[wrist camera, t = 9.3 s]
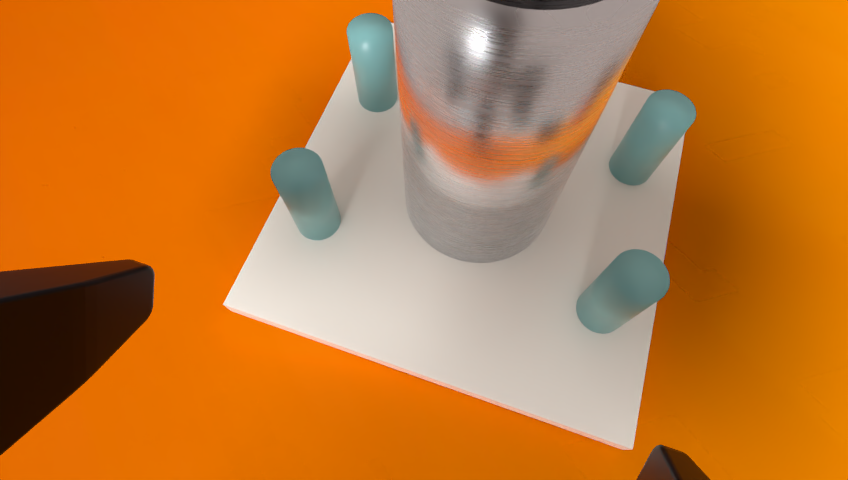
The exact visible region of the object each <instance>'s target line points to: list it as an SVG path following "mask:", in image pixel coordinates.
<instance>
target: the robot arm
mask: <svg viewBox="0 0 848 480" xmlns="http://www.w3.org/2000/svg"><path fill="white" fill-rule="evenodd" d="M153 298H154V271H153V269H152V268H151V267H150V266H149V265H146V264H143V263H140V262H137V261H134V260H118V261H107V262H97V263H86V264H76V265H65V266H55V267H44V268H34V269H23V270H13V271H2V272H0V455H1V454H3V453H4V452H5V451H6V450H7V449H8V448H10V447H11V446H12V445H13V444H14V443H15V442H17V441H18V440H19V439H20V438H21V437H22V436H24V435H25V434H26V433H27V432H28V431H30V430H31V429H32V428H33V427H34V426H35V425H37V424H38V423H39V422H40V421H41V420H42V419H44V418H45V417H46V416H47V415H48V414H49V413H51V412H52V411H53V410H54V409H55V408H56V407H58V406H59V405H60V404H61V403H62V402H63V401H65V400H66V399H67V398H68V397H69V396H70V395H72V394H73V393H74V392H75V391H76V390H77V389H78V388H80V387H81V386H82V385H83V384H84V383H85V382H86V381H87V380H88V379H89V378H90V377H91V376H92V375H93V374H94V373H95V372H96V371H97V370H98V369H99V368H100V367H101V366H102V365H103V364H104V363H105V362H106V361H107V360H108V359H109V358H110V357H111V356H112V355H113V354H114V353H115V352H116V351H117V350H118V349H119V348H120V347H121V346H122V345H123V344H124V343H125V342H126V341H127V340H128V338H129V337H130V336H131V335H132V334H133V333H134V332H135V331H136V330H137V329H138V328H139V327H140V326H141V325H142V324H143V323H144V322H145V321H146V320H147V319H148V317H149V316H150V314H151V312H152V308H153ZM637 480H710V479H709V478H708V477H707V476H706V474H705V473H704V472H703V471H702V470H701V469H700V468H699V467H698V466H697V465H696V464H695V463H694V462H693V461H692V460H691V459H690V457H689V456H688V455H687V454H685V453H683V452H681V451H678V450H675V449H672V448H669V447H667V446H664V445H658V446H656V447H655V448H654V449H653V450H652V452H651V454H650V456H649V457H648V459H647V461H646V463H645V465H644V467H643V469H642V470H641V472H640V474H639V476H638V478H637Z"/></svg>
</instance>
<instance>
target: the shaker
mask: <svg viewBox="0 0 848 480" xmlns="http://www.w3.org/2000/svg"><path fill="white" fill-rule="evenodd" d="M658 2H659V0H393V15H394V30H395V46H396V61H397V77H398V92H399V108H400V123H401V139H402V154H403V170H404V185H405V200H406V207H407V212H408V215H409V218H410V220H411V222H412V224H413V226H414V228H415V229H416V231H417V232H418V234H419V235H420V236H421V237H422V238H423V239H424V240H425V241H426V242H427V243H428V244H429V245H430V246H431V247H433V248H434V249H436V250H437V251H439V252H440V253H442V254H444V255H447V256H449V257H451V258H454V259H457V260H461V261H465V262H472V263H490V262H496V261H500V260H504V259H507V258H510V257H512V256H514V255H516V254H518V253H520V252H521V251H523V250H525V249H526V248H527V247H528V246H529V245H531V244H532V243H533V242H534V241H535V239H536V238H537V237H538V236H539V234H540V233H541V231H542V230H543V228H544V226H545V224H546V222H547V220H548V218H549V216H550V214H551V212H552V210H553V208H554V206H555V204H556V202H557V200H558V198H559V196H560V195H561V193H562V191H563V189H564V187H565V185H566V183H567V181H568V179H569V177H570V175H571V173H572V171H573V169H574V167H575V165H576V163H577V161H578V159H579V157H580V155H581V153H582V151H583V149H584V147H585V146H586V144H587V142H588V140H589V138H590V136H591V134H592V132H593V130H594V128H595V126H596V124H597V122H598V120H599V118H600V116H601V114H602V112H603V110H604V108H605V106H606V104H607V102H608V100H609V98H610V96H611V95H612V93H613V91H614V89H615V87H616V85H617V83H618V81H619V79H620V77H621V75H622V73H623V71H624V69H625V67H626V65H627V63H628V61H629V59H630V57H631V55H632V53H633V51H634V49H635V47H636V46H637V44H638V42H639V40H640V38H641V36H642V34H643V32H644V30H645V28H646V26H647V24H648V22H649V20H650V18H651V16H652V14H653V12H654V10H655V8H656V6H657V4H658Z"/></svg>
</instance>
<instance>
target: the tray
mask: <svg viewBox="0 0 848 480" xmlns="http://www.w3.org/2000/svg"><path fill="white" fill-rule="evenodd" d="M347 36H348V42H349V47H350V53H351V61H350V62H349V64H348V66H347V68H346V70H345V72H344V74H343V76H342V78H341V80H340V82H339V84H338V85H337V87H336V89H335V91H334V93H333V95H332V97H331V99H330V101H329V103H328V105H327V106H326V108H325V110H324V112H323V114H322V116H321V118H320V120H319V122H318V124H317V126H316V128H315V129H314V131H313V133H312V135H311V137H310V139H309V141H308V143H307V145H306V147H305V148H293V149H289V150H287V151H285V152H283V153H282V154H280V155H279V156H278V157H277V158H276V159H275V161H274V162H273V164H272V167H271V178H272V181H273V183H274V184H275V186H276V188H277V190H278V192H279V194H280V196H279V198H278V200H277V202H276V204H275V206H274V208H273V210H272V212H271V214H270V216H269V218H268V219H267V221H266V223H265V225H264V227H263V229H262V231H261V233H260V235H259V237H258V239H257V241H256V242H255V244H254V246H253V248H252V250H251V252H250V254H249V256H248V258H247V260H246V262H245V264H244V265H243V267H242V269H241V271H240V273H239V275H238V277H237V279H236V281H235V283H234V285H233V286H232V288H231V290H230V292H229V294H228V296H227V298H226V300H225V302H224V304H223V305H224V306H226V307H227V308H228V309H229V310H231V311H233V312H236V313H238V314H241V315H244V316H247V317H250V318H253V319H255V320H258V321H261V322H264V323H267V324H269V325H272V326H275V327H278V328H281V329H284V330H286V331H289V332H292V333H295V334H298V335H301V336H303V337H306V338H309V339H312V340H315V341H317V342H320V343H323V344H326V345H329V346H332V347H334V348H337V349H340V350H343V351H346V352H348V353H351V354H354V355H357V356H360V357H363V358H365V359H368V360H371V361H374V362H377V363H379V364H382V365H385V366H388V367H391V368H394V369H396V370H399V371H402V372H405V373H408V374H411V375H413V376H416V377H419V378H422V379H425V380H427V381H430V382H433V383H436V384H439V385H442V386H444V387H447V388H450V389H453V390H456V391H458V392H461V393H464V394H467V395H470V396H473V397H475V398H478V399H481V400H484V401H487V402H490V403H492V404H495V405H498V406H501V407H504V408H506V409H509V410H512V411H515V412H518V413H521V414H523V415H526V416H529V417H532V418H535V419H537V420H540V421H543V422H546V423H549V424H552V425H554V426H557V427H560V428H563V429H566V430H568V431H571V432H574V433H577V434H580V435H583V436H585V437H588V438H591V439H594V440H597V441H600V442H602V443H605V444H608V445H611V446H614V447H616V448H619V449H622V450H630V449H633V445H634V439H635V433H636V427H637V420H638V414H639V408H640V402H641V396H642V390H643V384H644V378H645V372H646V366H647V360H648V354H649V348H650V342H651V336H652V330H653V324H654V318H655V312H656V305H657V301H659V300H660V299H661V298H663V297H664V295H665V294H666V293H667V291H668V289H669V285H670V277H669V273H668V270H667V268H666V266H665V265H664V257H665V251H666V245H667V239H668V233H669V227H670V221H671V215H672V209H673V203H674V197H675V190H676V184H677V178H678V172H679V166H680V160H681V154H682V148H683V142H684V136H685V132H686V131H687V130H688V128H689V127H690V126H691V125H692V123H693V122H694V120H695V118H696V109H695V106H694V104H693V103H692V102H691V100H690V99H689V98H688V97H686V96H685V95H683V94H682V93H679V92H677V91H673V90H659V91H656V92H655V91H651V90H647V89H643V88H640V87H636V86H632V85H628V84H624V83H620V82H618V83H617V85H616V87H615V89H614V91H613V93H612V95H611V96H610V98H609V100H608V102H607V104H606V106H605V108H604V110H603V112H602V114H601V116H600V118H599V120H598V122H597V124H596V126H595V128H594V130H593V132H592V134H591V136H590V138H589V140H588V142H587V144H586V146H585V147H584V149H583V151H582V153H581V155H580V157H579V159H578V161H577V163H576V165H575V167H574V169H573V171H572V173H571V175H570V177H569V179H568V181H567V183H566V185H565V187H564V189H563V191H562V193H561V195H560V196H559V198H558V200H557V202H556V204H555V206H554V208H553V210H552V212H551V214H550V216H549V218H548V220H547V222H546V224H545V226H544V228H543V230H542V231H541V233H540V234H539V236H538V237H537V238H536V239H535V241H534V242H533V243H532V244H531V245H529V246H528V247H527V248H526V249H525V250H523V251H521V252H520V253H518V254H516V255H514V256H512V257H510V258H507V259H504V260H500V261H496V262H490V263H472V262H465V261H461V260H457V259H454V258H451V257H449V256H447V255H444V254H442V253H440V252H439V251H437V250H436V249H434V248H433V247H431V246H430V245H429V244H428V243H427V242H426V241H425V240H424V239H423V238H422V237H421V236H420V235H419V234H418V232H417V231H416V229H415V228H414V226H413V224H412V222H411V220H410V218H409V215H408V212H407V207H406V200H405V185H404V170H403V154H402V139H401V123H400V108H399V92H398V77H397V61H396V46H395V30H394V23H391V22H390V21H389V20H388V19H387V18H386V17H384V16H382V15H380V14H376V13H366V14H362V15H359V16H357V17H355V18H354V19H353V20H351V22H350V23H349V25H348V27H347Z"/></svg>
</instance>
